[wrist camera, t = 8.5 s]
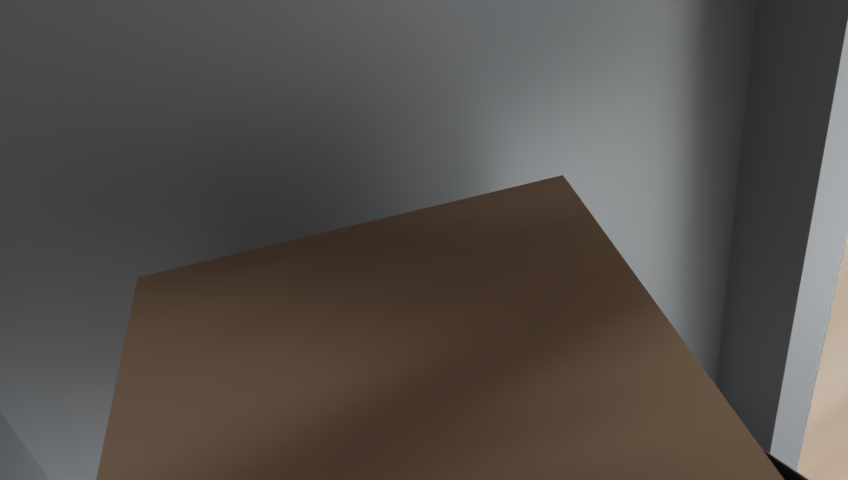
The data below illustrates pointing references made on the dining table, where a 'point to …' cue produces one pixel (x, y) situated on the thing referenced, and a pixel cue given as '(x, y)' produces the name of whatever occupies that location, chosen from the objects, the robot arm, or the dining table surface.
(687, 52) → the gray tray
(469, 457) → the walnut block
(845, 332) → the dining table surface
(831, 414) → the dining table surface
